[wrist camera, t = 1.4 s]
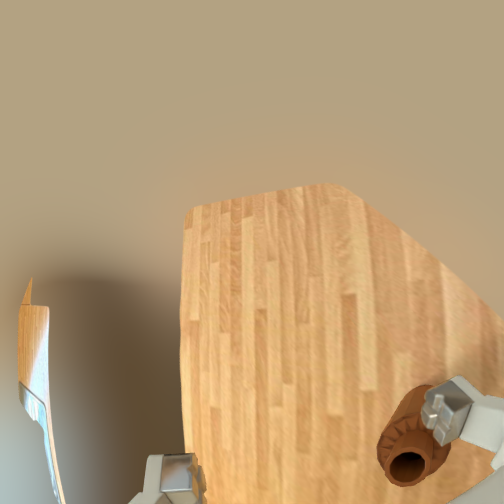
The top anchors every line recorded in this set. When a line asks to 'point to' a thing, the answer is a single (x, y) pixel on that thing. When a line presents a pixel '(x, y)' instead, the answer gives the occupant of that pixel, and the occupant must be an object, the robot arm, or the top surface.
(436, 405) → the robot arm
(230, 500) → the top surface
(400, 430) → the vase
